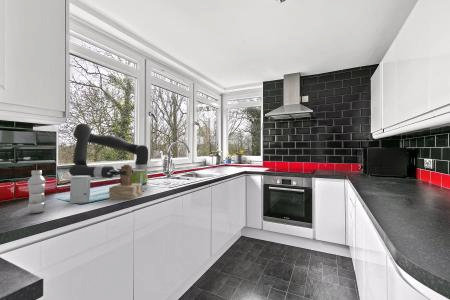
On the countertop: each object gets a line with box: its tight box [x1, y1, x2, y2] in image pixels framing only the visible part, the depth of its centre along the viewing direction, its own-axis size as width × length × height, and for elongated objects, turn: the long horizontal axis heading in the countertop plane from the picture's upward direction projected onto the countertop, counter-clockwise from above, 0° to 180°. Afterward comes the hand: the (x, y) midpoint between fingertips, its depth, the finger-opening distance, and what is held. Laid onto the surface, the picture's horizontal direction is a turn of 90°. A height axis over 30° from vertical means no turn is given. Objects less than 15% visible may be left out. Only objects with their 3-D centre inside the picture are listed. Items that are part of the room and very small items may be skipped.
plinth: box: [108, 183, 143, 200], centre depth 128 cm, size 14×14×7 cm
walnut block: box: [120, 164, 133, 186], centre depth 128 cm, size 4×4×13 cm
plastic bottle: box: [27, 169, 47, 214], centre depth 96 cm, size 6×7×20 cm
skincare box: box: [69, 175, 91, 204], centre depth 116 cm, size 8×6×15 cm
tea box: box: [119, 169, 147, 191], centre depth 148 cm, size 15×10×15 cm
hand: (129, 172), depth 128 cm, fingers open, 8 cm apart
